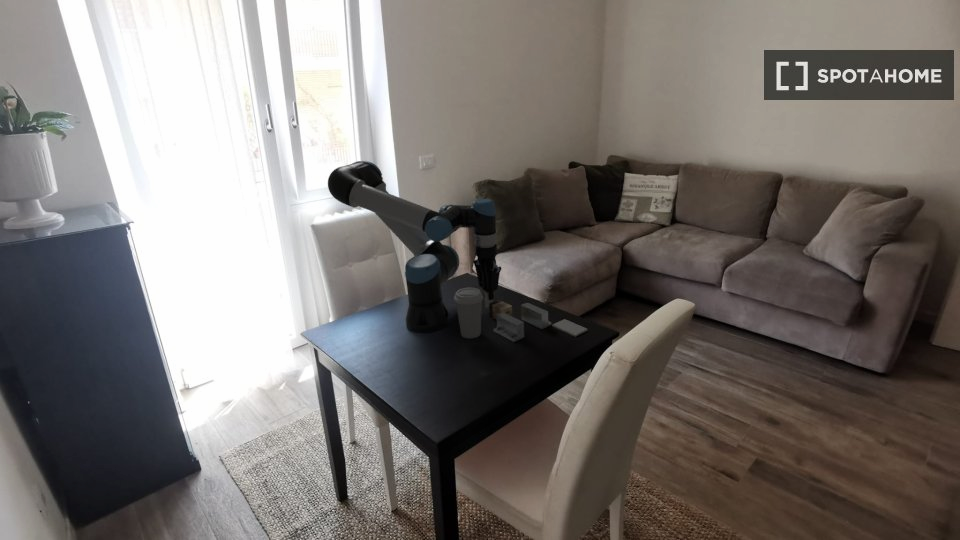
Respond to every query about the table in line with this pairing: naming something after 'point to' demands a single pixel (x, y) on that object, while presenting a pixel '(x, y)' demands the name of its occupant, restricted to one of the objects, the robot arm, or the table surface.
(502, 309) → the tan piece
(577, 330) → the mat
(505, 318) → the dark grey boxy pieces
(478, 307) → the coffee cup
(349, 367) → the table surface
